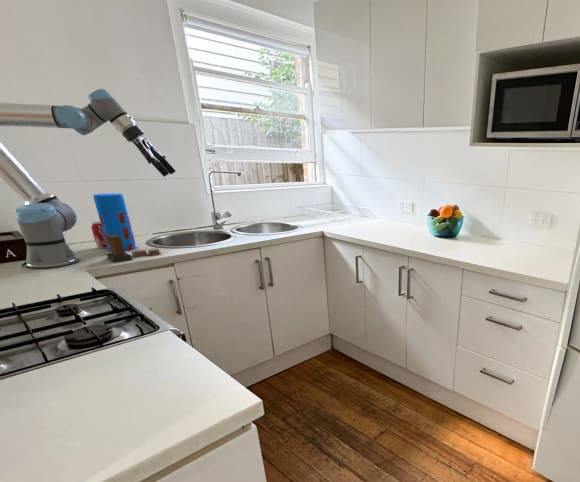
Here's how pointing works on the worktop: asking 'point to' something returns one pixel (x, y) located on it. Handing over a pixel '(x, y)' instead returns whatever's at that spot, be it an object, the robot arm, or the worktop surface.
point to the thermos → (115, 218)
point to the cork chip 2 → (153, 252)
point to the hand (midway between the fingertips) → (170, 174)
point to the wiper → (117, 249)
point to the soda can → (99, 235)
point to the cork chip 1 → (139, 253)
